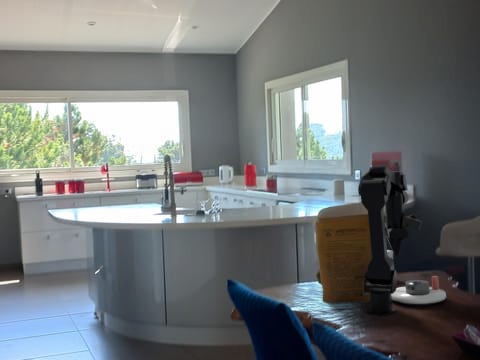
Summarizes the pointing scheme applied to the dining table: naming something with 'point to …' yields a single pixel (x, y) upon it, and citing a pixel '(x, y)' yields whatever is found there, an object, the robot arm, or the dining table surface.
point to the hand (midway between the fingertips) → (396, 255)
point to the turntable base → (418, 304)
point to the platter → (432, 297)
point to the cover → (417, 287)
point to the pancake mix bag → (343, 257)
